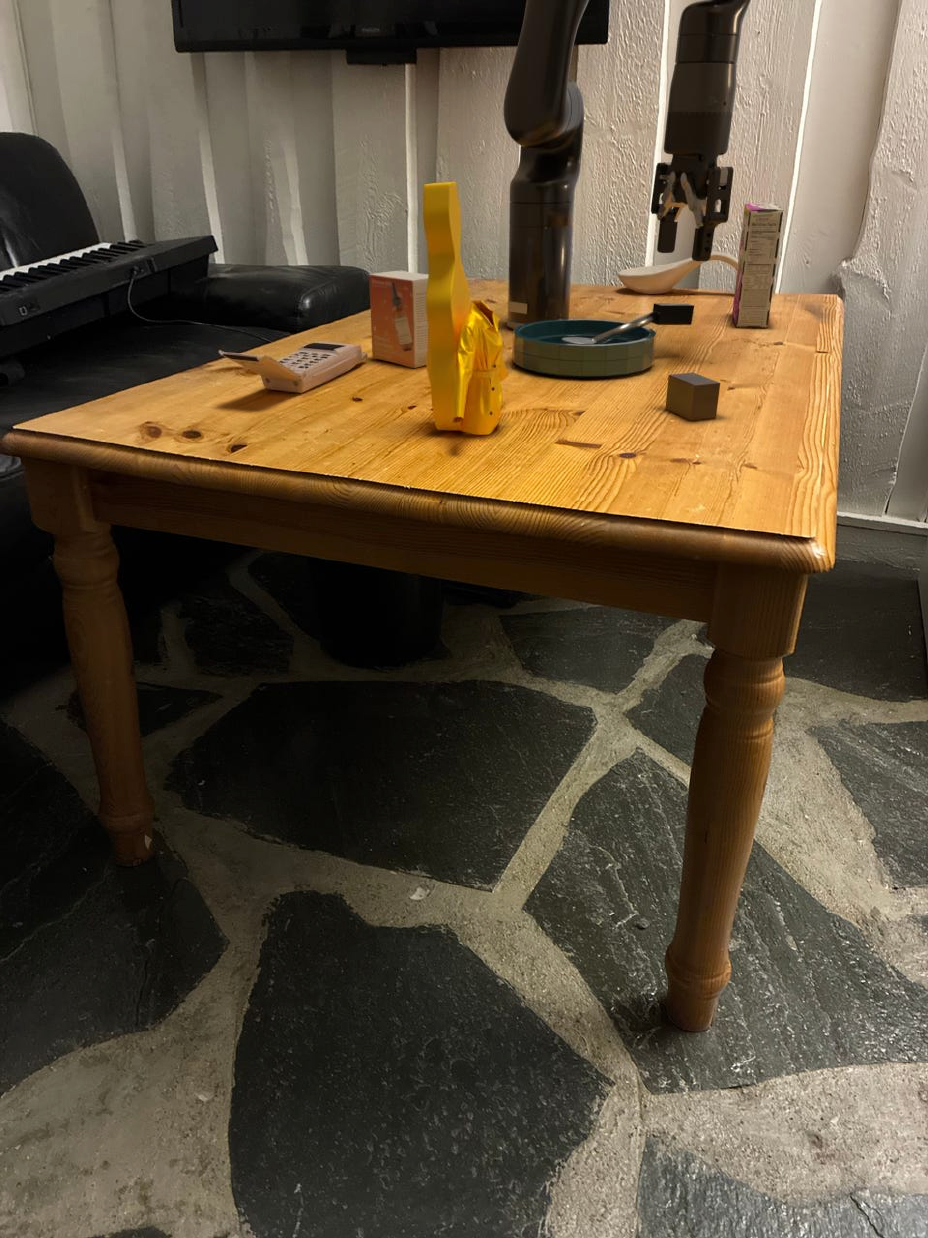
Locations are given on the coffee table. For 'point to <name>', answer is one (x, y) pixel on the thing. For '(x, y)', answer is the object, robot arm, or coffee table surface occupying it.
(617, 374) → the bowl
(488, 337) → the figure statuette
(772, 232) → the candy bar box
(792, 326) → the coffee table surface
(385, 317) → the small box
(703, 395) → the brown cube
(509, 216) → the robot arm
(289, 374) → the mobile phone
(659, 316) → the ladle
